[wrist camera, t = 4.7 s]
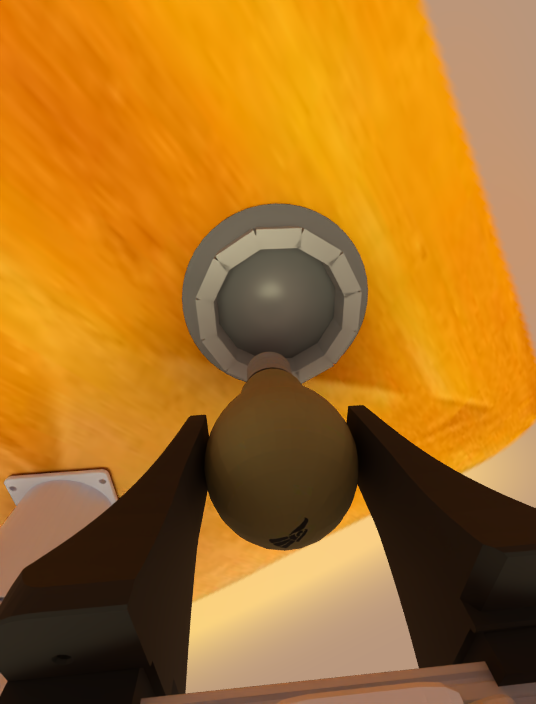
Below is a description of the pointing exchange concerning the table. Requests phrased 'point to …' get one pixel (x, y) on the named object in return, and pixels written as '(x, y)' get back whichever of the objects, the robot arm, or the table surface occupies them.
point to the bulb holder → (275, 290)
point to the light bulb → (280, 460)
